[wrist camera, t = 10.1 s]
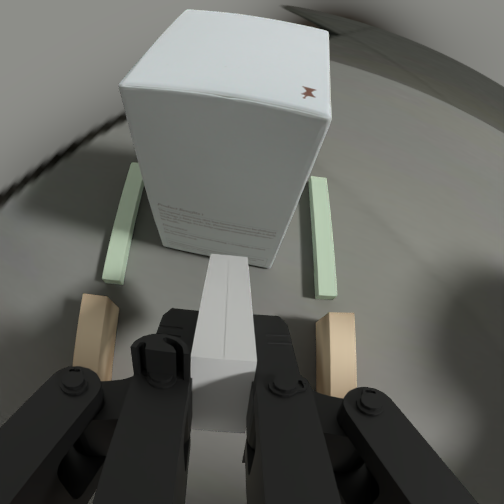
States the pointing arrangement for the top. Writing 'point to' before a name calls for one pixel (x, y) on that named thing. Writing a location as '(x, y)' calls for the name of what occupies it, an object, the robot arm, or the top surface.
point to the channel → (327, 345)
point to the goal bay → (319, 224)
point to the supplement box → (228, 129)
